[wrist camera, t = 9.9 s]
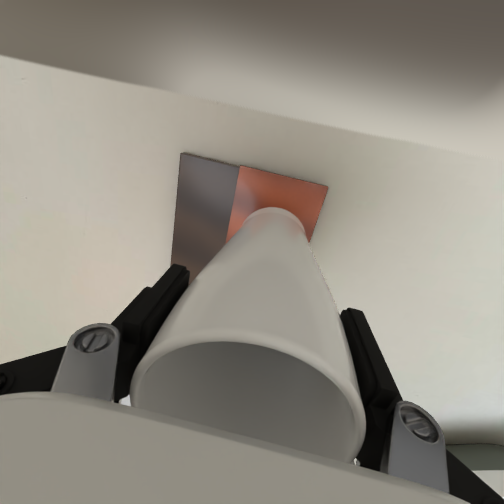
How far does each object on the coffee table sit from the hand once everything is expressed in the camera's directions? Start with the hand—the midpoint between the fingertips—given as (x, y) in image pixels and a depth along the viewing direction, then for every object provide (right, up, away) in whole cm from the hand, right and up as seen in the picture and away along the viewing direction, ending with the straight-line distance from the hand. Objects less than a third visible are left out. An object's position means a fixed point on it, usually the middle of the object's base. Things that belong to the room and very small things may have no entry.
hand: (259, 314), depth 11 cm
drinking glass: (+1, +4, +9) cm, 10 cm away
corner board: (-2, +1, +18) cm, 18 cm away
